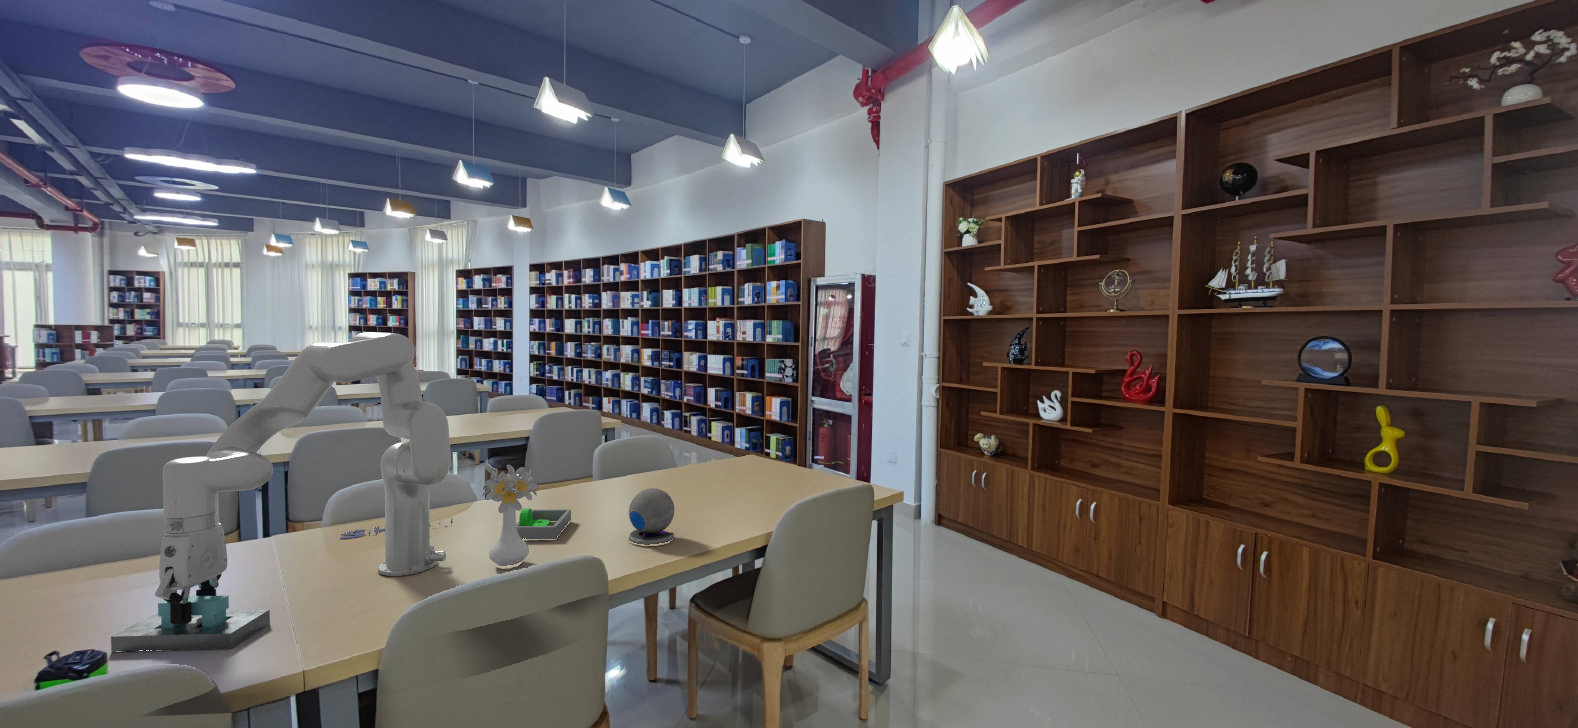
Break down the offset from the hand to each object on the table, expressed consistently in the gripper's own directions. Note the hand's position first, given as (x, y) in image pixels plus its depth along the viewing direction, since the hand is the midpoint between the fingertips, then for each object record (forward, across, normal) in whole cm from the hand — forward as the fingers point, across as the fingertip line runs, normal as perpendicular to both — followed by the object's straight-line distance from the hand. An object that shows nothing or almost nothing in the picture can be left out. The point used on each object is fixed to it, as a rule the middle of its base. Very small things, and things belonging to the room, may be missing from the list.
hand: (194, 615), depth 119 cm
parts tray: (+4, +63, -47) cm, 79 cm away
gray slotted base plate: (+4, 0, 0) cm, 4 cm away
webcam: (+5, +54, -80) cm, 97 cm away
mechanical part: (+5, +63, -45) cm, 77 cm away
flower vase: (+5, +35, -47) cm, 59 cm away
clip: (+4, 0, 0) cm, 4 cm away
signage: (+5, +67, -4) cm, 67 cm away
